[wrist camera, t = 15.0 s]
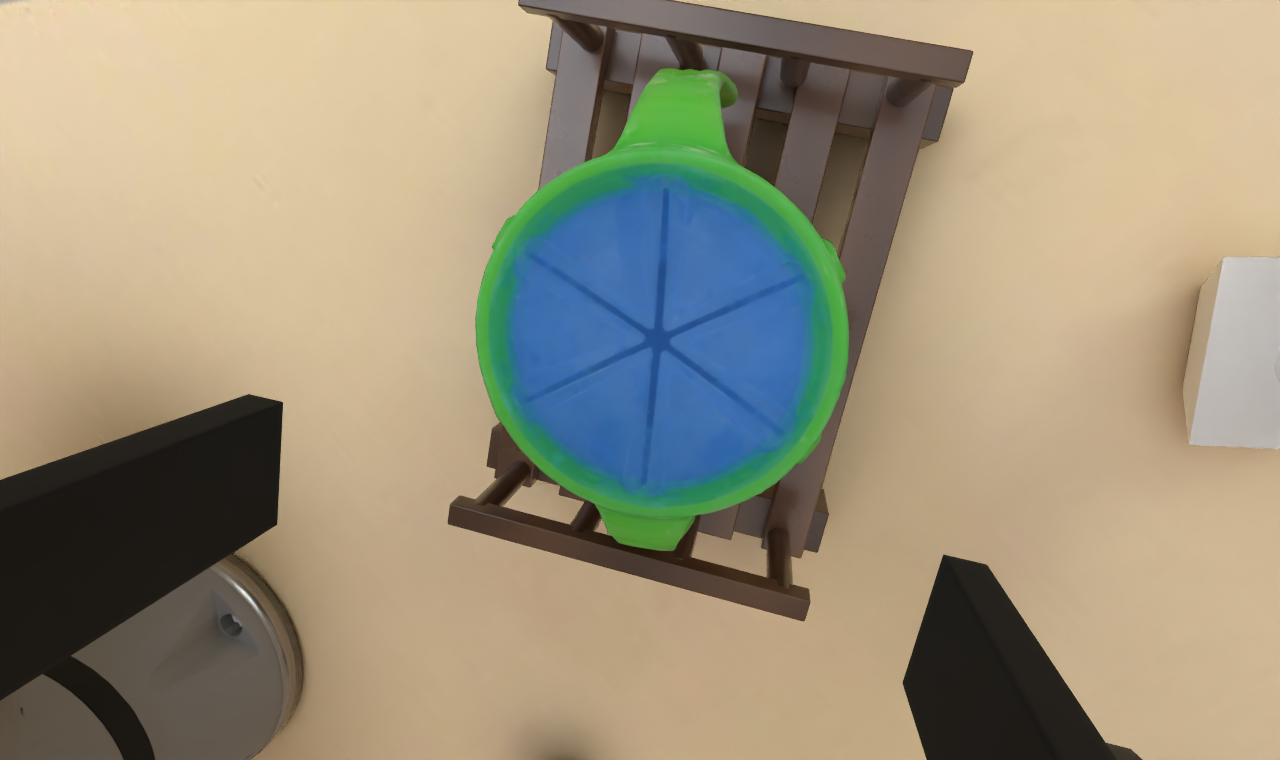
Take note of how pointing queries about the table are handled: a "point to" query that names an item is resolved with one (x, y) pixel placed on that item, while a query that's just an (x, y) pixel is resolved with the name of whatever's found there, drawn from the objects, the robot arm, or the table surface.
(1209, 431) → the figurine
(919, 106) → the dish rack
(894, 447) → the table surface
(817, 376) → the snack cup
